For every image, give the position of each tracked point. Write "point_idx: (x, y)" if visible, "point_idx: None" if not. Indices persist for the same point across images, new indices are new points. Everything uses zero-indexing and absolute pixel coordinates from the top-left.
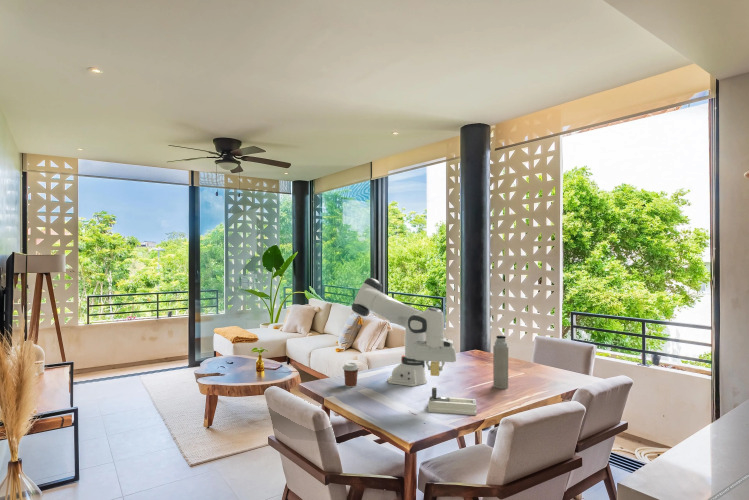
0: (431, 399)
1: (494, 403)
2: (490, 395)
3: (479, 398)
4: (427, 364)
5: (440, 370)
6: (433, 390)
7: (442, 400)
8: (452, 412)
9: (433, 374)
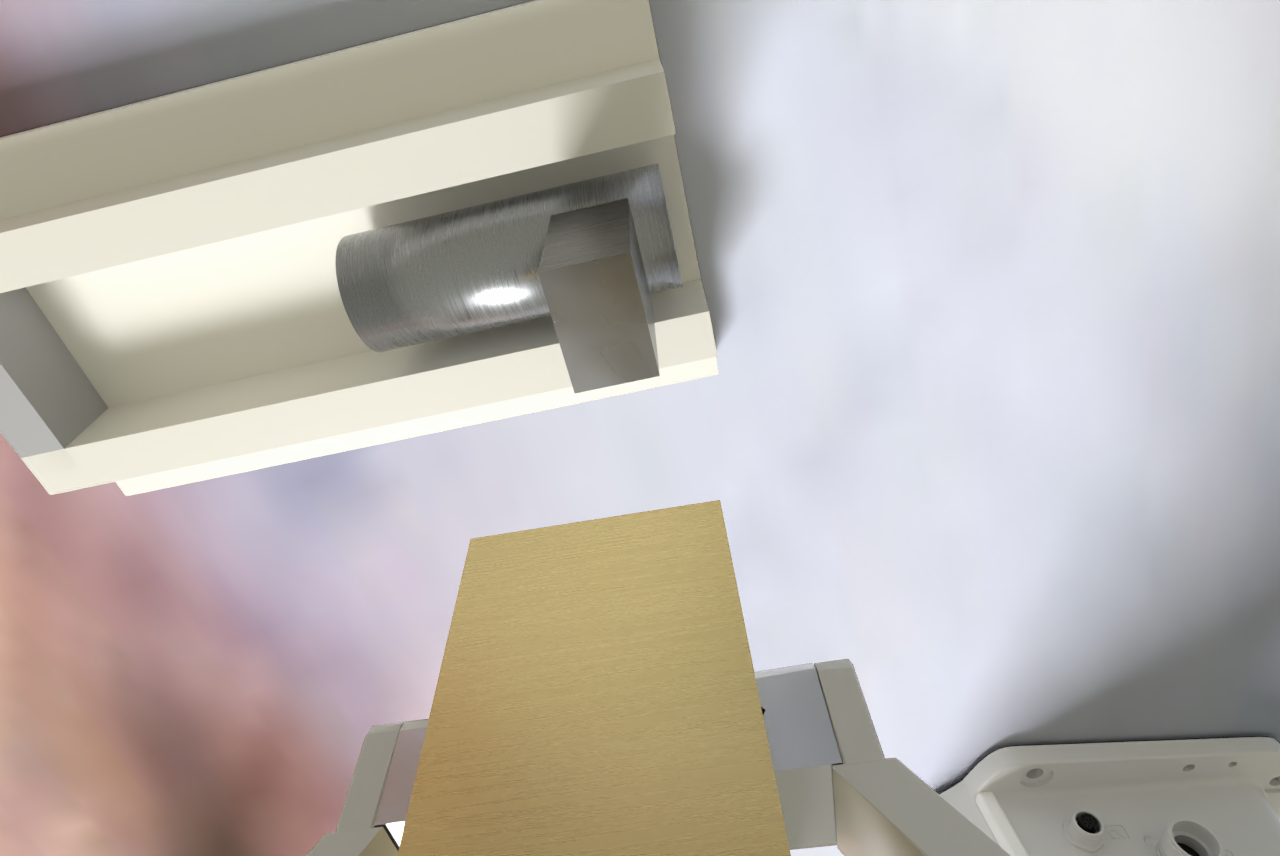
0: (637, 189)
1: (24, 620)
2: (193, 781)
3: (242, 686)
4: (930, 835)
5: (426, 721)
6: (598, 252)
7: (446, 227)
8: (257, 71)
9: (631, 538)
